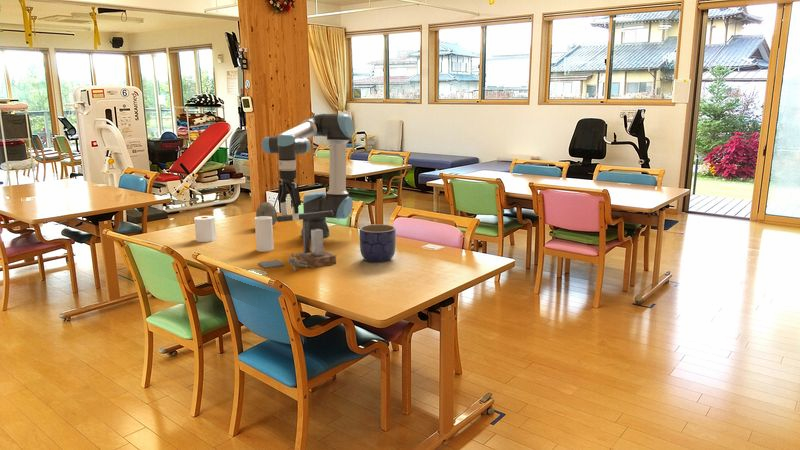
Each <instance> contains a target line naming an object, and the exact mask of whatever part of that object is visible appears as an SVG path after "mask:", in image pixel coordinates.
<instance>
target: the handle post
mask: <svg viewBox="0 0 800 450" xmlns="http://www.w3.org/2000/svg"><path fill="white" fill-rule="evenodd" d="M301 221H302V227H303V237H302V243H303V252H297V253H295V257H297V258H299V259H300V254H303V253H309V252H312V250H311V238H309V221H306V222H305V221H303V220H301Z"/></svg>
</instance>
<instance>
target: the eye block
mask: <svg viewBox="0 0 800 450" xmlns="http://www.w3.org/2000/svg"><path fill="white" fill-rule="evenodd" d="M323 250H324V256H319V257H313V256H312V252H309V253H303V252H302V253H303V254H300V258H299V259H300V260H299V261H302V262H307V263H306V264H305V265H307V267H309V268H312V269H313V268H317V267H323V266H328V265H329V266H330V265H335V264H336V263H337V260H336V259H337V258H336V257H337V256H336V255H335V254H332V253H331V252H328V251H327V250H325V249H323Z"/></svg>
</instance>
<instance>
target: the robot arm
mask: <svg viewBox="0 0 800 450" xmlns="http://www.w3.org/2000/svg"><path fill="white" fill-rule="evenodd" d="M354 133H355V125H354V122H353V119H352V117H351V116H350V115H348V114H347V113H346V114H345V113H319V114H315V115H312V116H311V117H307V118H306V119H304V120H302V121H301V122H300V124H298V125H296V126H294V127H291V128H289V129H287V130H285V131H283V132H281V133H279V134H277V135H275V136H265V137H264V138H263V139H262V140H261V149H262V151H263V152H264V153H267V154H278V163H277V164H278V169H279V171H278V175H279V176H278V177H279V180H278V193H277V201H278V202H279V203H280V216H284V215H288V206H287V205H288V204H287V196H288V194H289V197H290V201H291V203H292V205H291V212H292V214H291V215H292V216H293V221H292V222H294V221H300V220H299V214H300V213H299V210H300V209H299V206H301V205H302V204H303V207H302V208H303V213H312V212H321V211H329V210H331V211H333V215H332V216H328V217H319V218H310V219H308V221H309V239H311V230H313V229H321V230H323V239H324V238H327V237H329V236H330V227H328V223H327V219H326V218H328V219H338V220H341V219H342V220H344V219H345V220H346V219H347V218H348V217H350V215H351V213H352V210H353V207H354V203H353V199H352V197H350V196H349V195H350V194H349V192H348V191H347V185H346V184H347V144H348V143H349V142H350V138H351V137H353V135H354ZM315 137H326V141H327V142H328V143H329V184H328V185H329V186H328V188H329V189H328V191H327V192H326V193H325V192H324V191H320V192H319V191H317V192H311V193H307V194H304V196H303V198H302V199H303V201H301V195H300V190H299V189H300V188H299V182H295V179H297V170H296V169H297V159H296V158H297V155H304V154H306V153H308V152H309V151H310V150H311V142H310V140H309V139H311V138H312V139H313V138H315ZM300 234H301V237H302V238H303V226H302V228H301V231H300Z"/></svg>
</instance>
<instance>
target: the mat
mask: <svg viewBox="0 0 800 450" xmlns="http://www.w3.org/2000/svg"><path fill="white" fill-rule="evenodd" d="M257 265H259V266H260V267H262V268H263V269H266V270H267V269H272V268H279V267H285V265H286V264H285V263H283V262H281V261H280V260H278V259H273V260H268V261H267V260H265V261H261V262H257Z"/></svg>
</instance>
